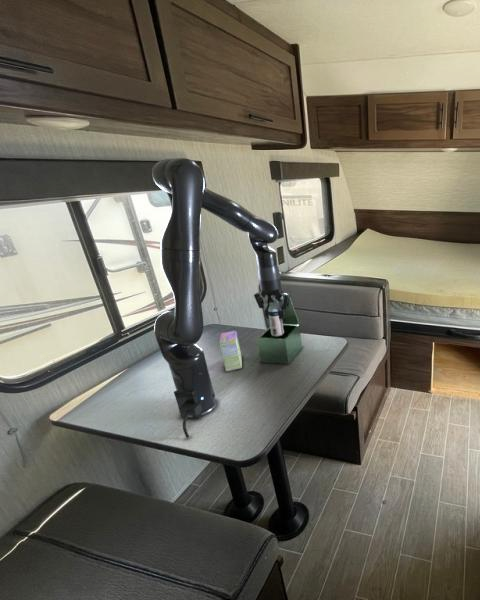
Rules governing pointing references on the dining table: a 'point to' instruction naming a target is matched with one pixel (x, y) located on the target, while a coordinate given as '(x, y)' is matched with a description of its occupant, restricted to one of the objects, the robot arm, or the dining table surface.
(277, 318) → the beer can
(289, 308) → the bin lid
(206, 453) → the dining table surface
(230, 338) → the box
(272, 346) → the trash bin
